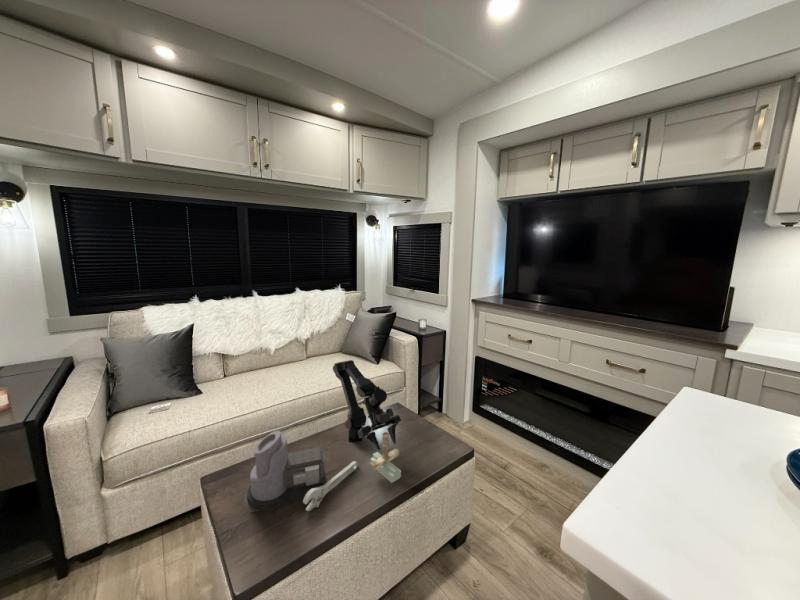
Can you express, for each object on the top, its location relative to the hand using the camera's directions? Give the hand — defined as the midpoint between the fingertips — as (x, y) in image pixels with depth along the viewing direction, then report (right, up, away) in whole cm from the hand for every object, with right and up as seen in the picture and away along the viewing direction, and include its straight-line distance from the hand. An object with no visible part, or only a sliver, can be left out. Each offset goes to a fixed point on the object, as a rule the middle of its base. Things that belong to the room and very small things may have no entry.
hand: (387, 446), depth 128 cm
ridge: (-1, -12, +3) cm, 12 cm away
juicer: (-38, -13, -8) cm, 41 cm away
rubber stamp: (-1, -7, +3) cm, 8 cm away
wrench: (-21, -14, -7) cm, 26 cm away
